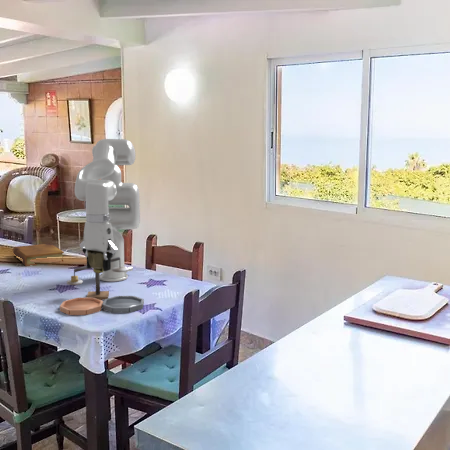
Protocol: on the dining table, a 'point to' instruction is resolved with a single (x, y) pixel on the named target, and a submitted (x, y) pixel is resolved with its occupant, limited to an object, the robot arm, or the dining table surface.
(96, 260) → the cup
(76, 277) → the balance
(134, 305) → the dish slate
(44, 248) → the diary
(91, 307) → the dish terracotta
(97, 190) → the robot arm
